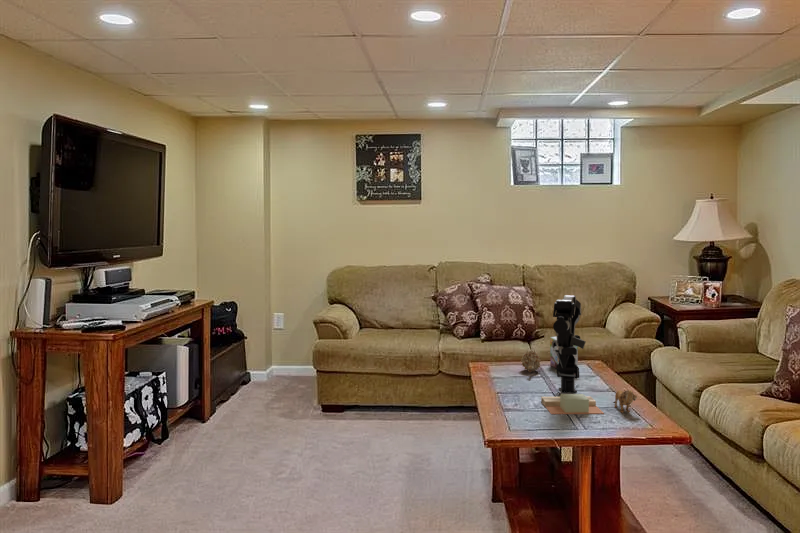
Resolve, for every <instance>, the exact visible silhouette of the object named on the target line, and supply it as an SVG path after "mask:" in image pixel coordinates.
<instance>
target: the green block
mask: <svg viewBox="0 0 800 533" xmlns="http://www.w3.org/2000/svg"><path fill="white" fill-rule="evenodd" d="M559 397H560V407H561V408H562V409H563V411H564V412H589V399H588V398H587V397H586V395H585V394H584V393H573V394H572V393H568V394H567V393H566V394H565V393H563V394H561V393H560V396H559Z"/></svg>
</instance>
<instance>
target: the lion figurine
mask: <svg viewBox="0 0 800 533" xmlns="http://www.w3.org/2000/svg"><path fill="white" fill-rule="evenodd" d="M614 398H615V400H614V401H613V402H612V403H613V404H614V408H617V409H618V405H619V406H620V413H625V412H627V413H630V412H631V410H629V408H630V405H631V404H633V402H635V401H636V400H637V399H638V396H637V395H636V394H635V393H634V392H633V390H631V389H626V390H624V391H623V390H617V391H616V392H615V397H614ZM618 402H619V404H618ZM624 406H626V407H625V411H624Z"/></svg>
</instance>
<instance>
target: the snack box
mask: <svg viewBox="0 0 800 533" xmlns="http://www.w3.org/2000/svg"><path fill="white" fill-rule="evenodd" d="M553 340H557V336H550V337H549V348H550V349H549V350H550V351H549V352H550V353H549V354H550V355H549V356H550V366H551V367H553V368H554V369H556V370H557V363H559V359H558V356H557V354H556V352H555V350H557V346H555V347H554V348H553V347H552V341H553ZM574 347H575V348H576V349H577V355H573V356H574V358H575V359H576V364H577V365H578V366H579V362H578V360H579V357H578V356H579V354H578V353H579V352H578V351H579V349H578V348H579V347H578V346H575V345H574ZM575 375H576V374H575Z"/></svg>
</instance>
